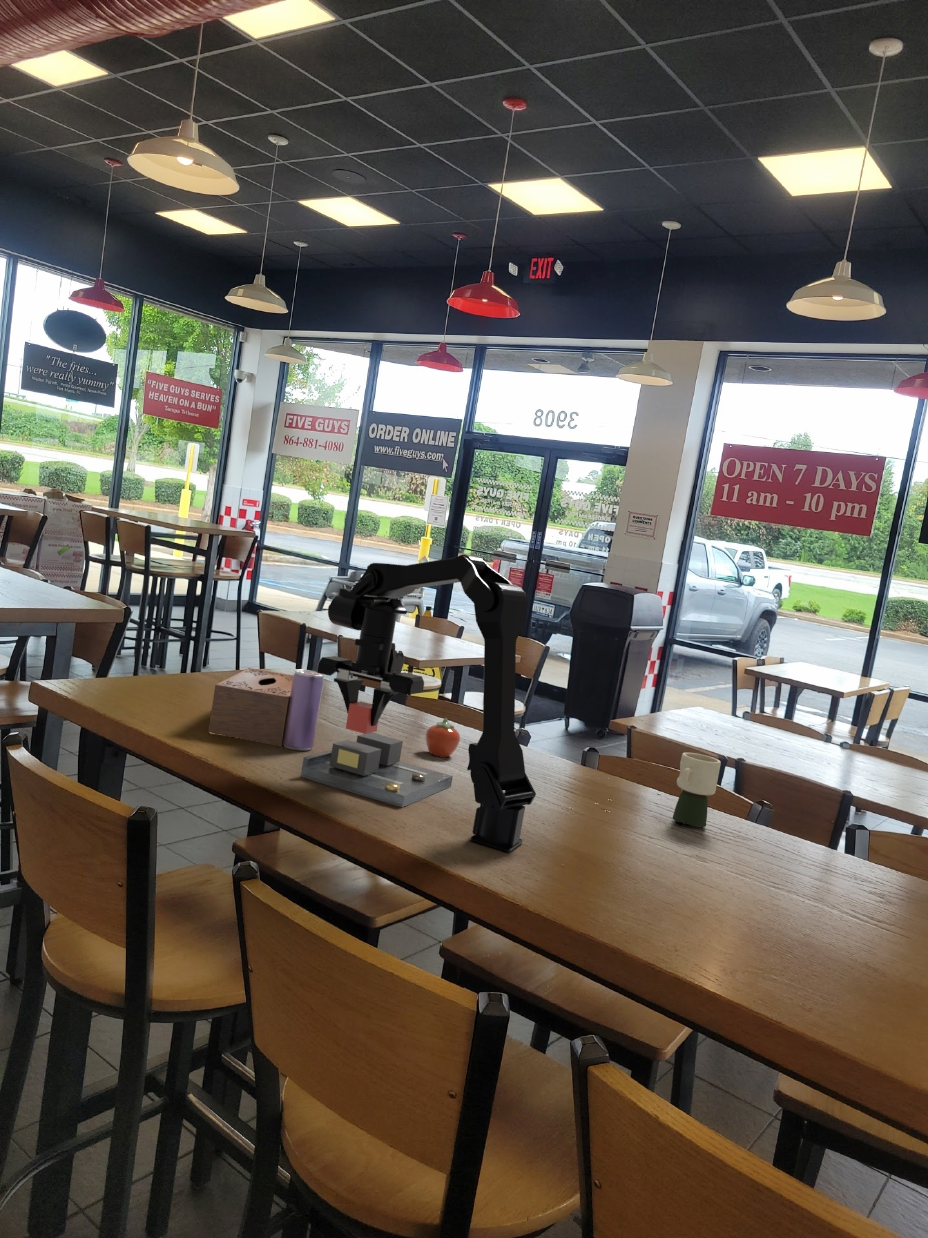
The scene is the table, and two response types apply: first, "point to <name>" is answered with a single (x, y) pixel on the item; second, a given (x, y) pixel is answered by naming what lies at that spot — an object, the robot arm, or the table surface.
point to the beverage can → (303, 710)
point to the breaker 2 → (383, 747)
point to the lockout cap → (360, 718)
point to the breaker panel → (378, 780)
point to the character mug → (695, 788)
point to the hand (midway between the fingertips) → (362, 723)
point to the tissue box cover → (252, 706)
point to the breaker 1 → (355, 757)
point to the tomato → (442, 739)
